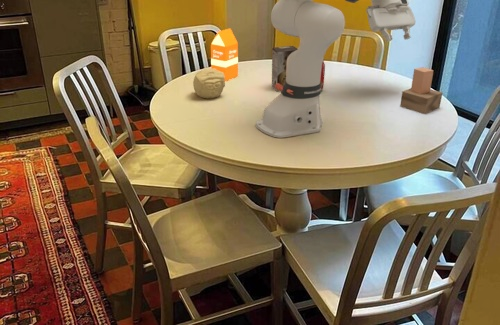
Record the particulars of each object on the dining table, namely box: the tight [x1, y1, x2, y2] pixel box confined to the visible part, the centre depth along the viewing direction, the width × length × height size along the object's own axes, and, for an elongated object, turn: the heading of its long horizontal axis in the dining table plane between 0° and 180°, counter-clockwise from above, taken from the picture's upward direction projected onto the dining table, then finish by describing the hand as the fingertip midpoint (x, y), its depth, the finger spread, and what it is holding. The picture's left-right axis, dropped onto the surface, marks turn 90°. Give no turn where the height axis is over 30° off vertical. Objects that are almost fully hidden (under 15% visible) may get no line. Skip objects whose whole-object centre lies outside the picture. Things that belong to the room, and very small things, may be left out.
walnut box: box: [399, 88, 443, 115], centre depth 174 cm, size 10×10×6 cm
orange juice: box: [210, 28, 239, 82], centre depth 201 cm, size 8×9×20 cm
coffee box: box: [271, 45, 298, 93], centre depth 190 cm, size 9×6×16 cm
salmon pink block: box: [411, 66, 434, 94], centre depth 171 cm, size 5×5×8 cm
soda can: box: [320, 59, 326, 91], centre depth 189 cm, size 7×7×12 cm
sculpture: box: [192, 68, 226, 99], centre depth 182 cm, size 11×12×11 cm
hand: (398, 39), depth 173 cm, fingers open, 8 cm apart
